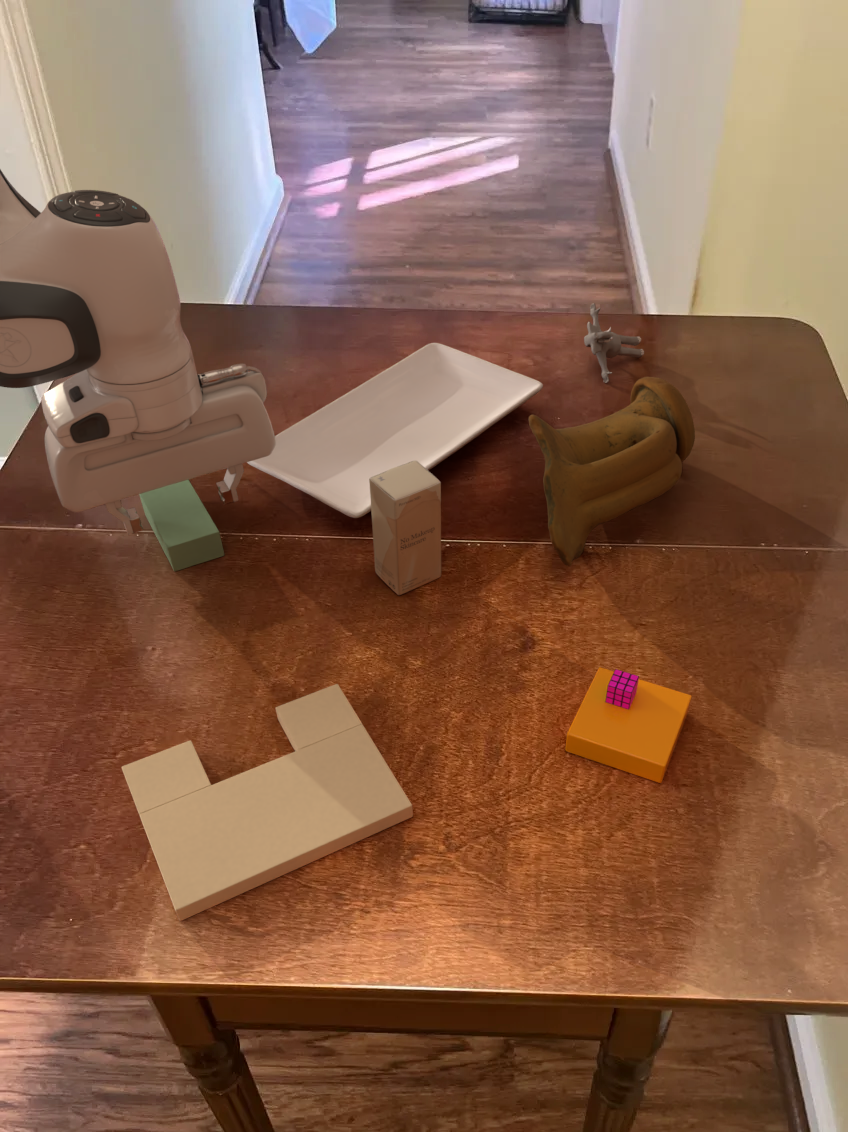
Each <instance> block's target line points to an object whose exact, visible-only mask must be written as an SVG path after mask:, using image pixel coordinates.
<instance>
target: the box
mask: <svg viewBox="0 0 848 1132" xmlns="http://www.w3.org/2000/svg"><path fill="white" fill-rule="evenodd" d="M369 483H370V498H371V511H370V512H371V525H372V542H373V555H374V556H373V559H374V572H375V574H376V575H377V576H378V577H379V578H380V579H381V580H382V581H383V582H384V583H385V584H386V585H387V586H388V587H389V588H390V589H391V590H392V591H393V592H394V593H395V594H396V595H398V596H401V595H403V594H406V593H408V592H410V591H413V590H415V589H417V588H419V587H422V586H423V585H426V584H428V583H431V582H432V581H435V580H437V579H439V578H441V577H442V508H441V507H442V482H441V481H440V480H439V479H438V478H437V476H435V475H434V474H433V473H431V471H430V470H429V471H428V470H427V469H426V468H425V467H424V466H422V465H421V464H420V463H419V462H418V461H416V460H414V461H411V462H408V463H405V464H403V465H400V466H398V467H394V468H392V469H389V470H387V471H385V472H382V473H380V474H377V475H375V476H372V477H370V478H369Z"/></svg>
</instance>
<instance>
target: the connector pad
mask: <svg viewBox="0 0 848 1132" xmlns="http://www.w3.org/2000/svg"><path fill="white" fill-rule="evenodd" d="M138 497H139V498H140V499H139V500H140V502H141V505H142V509H143V512H144V516H145V517H146V520H147V521H148V524H149V525H150V527H151V530H152V532H153V534H154V535H155V537H156V540H157V541H158V543H159V545H160V547H161V548H162V551H163V552H164V554H165V556H166V558H167V561H168V563H169V564H170V566H171V568H172V570H173V572H178V571H182V570H184V569H187V568H190V567H193V566H196V565H199V564H203V563H206V562H209V561H212V560H216V559H218V558H221V557H224V556H225V551H224V546H223V542H222V537H221V533H220V531H219V529H218V527H217V525H216V523H215V522H214V520H213V519H212V517H211V515H210V513H209V511H207V510H208V509H207V508H206V507H205V504H204V503H203V502H202V500H201V498H200V496H199V495H198V493H197V491H196V489H195V488H194V486H193V485H192V483H191V481H190V479H189V480H185V481H182V482H178V483H175V484H172V485H168V486H165V487H162V488H158V489H155V490H151V491H148V492H145V493H141V494H138Z"/></svg>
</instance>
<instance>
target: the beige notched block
mask: <svg viewBox="0 0 848 1132" xmlns="http://www.w3.org/2000/svg"><path fill="white" fill-rule="evenodd" d="M275 713H276V717H277V720H278V722H279V724H280V726H281V728H282V730H283V731H284V734H285V735H286V738H287V739H288V741H289V743H290V745H291V747H292V749H293V750H294V751H293V752H291V753H287V754H285V755H283V756H280V757H278V758H276V759H273V760H270V761H268V762H266V763H263V764H260V765H258V766H256V767H253V768H251V769H249V770H245V771H243V772H240V773H238V774H235V775H233V776H230V777H229V778H226V779H223V780H221V781H219V782H216V783H213V784H212V783H211V781H210V779H209V777H208V775H207V772H206V770H205V768H204V766H203V763H202V761H201V759H200V756H199V754H198V752H197V749H196V748H195V745H194V743H193V741H192V740H191V739H190V740H187V741H184V742H182V743H179V744H177V745H174V746H171V747H169V748H167V749H164V750H161V751H158V752H156V753H153V754H151V755H148V756H146V757H143V758H141V759H138V760H135V761H132V762H130V763H127V764H124V765H122V766H121V771H122V773H123V775H124V778H125V781H126V784H127V786H128V790H129V792H130V794H131V797H132V800H133V803H134V805H135V808H136V810H137V813H138V815H139V819H140V821H141V823H142V826H143V829H144V832H145V834H146V836H147V839H148V842H149V845H150V848H151V850H152V853H153V855H154V858H155V860H156V863H157V866H158V868H159V871H160V874H161V876H162V877H161V878H162V879H163V883H164V885H165V887H166V889H167V892H168V895H169V898H170V900H171V903H172V907H173V909H174V911H175V913H176V916H177V918H178V921H179V922H182V921H184V920H186V919H189V918H191V917H193V916H195V915H197V914H199V913H202V912H204V911H207V910H209V909H211V908H213V907H215V906H217V905H219V904H222V903H224V902H227V901H229V900H231V899H233V898H235V897H238V896H240V895H242V894H244V893H247V892H249V891H251V890H254V889H255V888H257V887H260V886H262V885H264V884H266V883H268V882H272V881H273V880H275V879H278V878H279V877H282V876H284V875H286V874H289V873H291V872H293V871H295V870H297V869H300V868H302V867H304V866H307V865H308V864H310V863H313V862H315V861H318V860H320V859H322V858H324V857H326V856H328V855H330V854H333V853H335V852H337V851H339V850H342V849H344V848H346V847H348V846H351V845H353V844H356V843H358V842H359V841H360V842H361V841H362V840H364V839H367V838H368V837H370V836H373V835H376V834H377V833H380V832H382V831H384V830H387V829H389V828H391V827H393V826H395V825H398V824H399V823H402V822H405V821H407V820H408V819H409V820H410V819H411V818H413V817H414V811H413V809H414V808H413V804H412V802H411V801H410V799H409V796H407V794H406V793H405V791H404V789H403V787H402V786H401V784H400V782H399V781H398V780H397V778H396V776H395V775H394V773H393V771H392V770H391V768H390V767H389V764H388V763H387V762H386V760H385V758H384V756H383V755H382V753H381V752H380V751H379V748H378V746H377V745H376V744H375V742H374V741H373V739H372V737H371V735H370V734H369V732H368V731H367V729H366V727H365V726H364V724H363V722H362V721H361V720H360V718H359V716H358V714H357V713H356V711H355V710H354V708H353V706H352V704H351V703H350V701H349V700H348V698H347V696H346V695H345V693H344V692H343V689H342V688H341V687H340V685H339V683H336V684H333V685H329V686H328V687H325V688H322V689H319V690H317V691H315V692H312V693H309V694H307V695H304V696H302V697H299V698H296V699H293V700H291V701H288V702H286V703H283V704H281V705H278V706H276V707H275Z"/></svg>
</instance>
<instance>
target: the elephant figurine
mask: <svg viewBox="0 0 848 1132" xmlns="http://www.w3.org/2000/svg"><path fill="white" fill-rule="evenodd" d="M601 308H602V307H598V308H596V303H595V302H594V303H591V304H590V307H589V309H590V311H589V313H590V317H591V318H592V321H593V323H592V322H591V321H588V322H587V324H586V328H587V332H588V333H587V334H585V336H584V337H583V343H584V345H585V347H586V348H590V351H591V353H592V354H593V355H594V356H595V357H596V358H597V362H598V364H599V366H600V368H601V378H602V380H603V383H605V384H608V383H609V382H610V378H609V376H610V375H611V374H613V371H610V370H609V368H608V363H607V359H613V358H616V356H619V357H621V356H623V357H630V358H634V359H640V358H642V357H643V356H644V354H645V350H644V349H643V348H633V347H627V346H634V347H636V346H638V345H640V343H641V342H642V338H641V336H629V335H622V334H618V333H616V332H613V331H612V327H611V326H610V327H609V329H608V330H605V331H603V330H602V329H601V325H600V322H599V313H600V310H602V309H601ZM622 345H627V346H622Z"/></svg>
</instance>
